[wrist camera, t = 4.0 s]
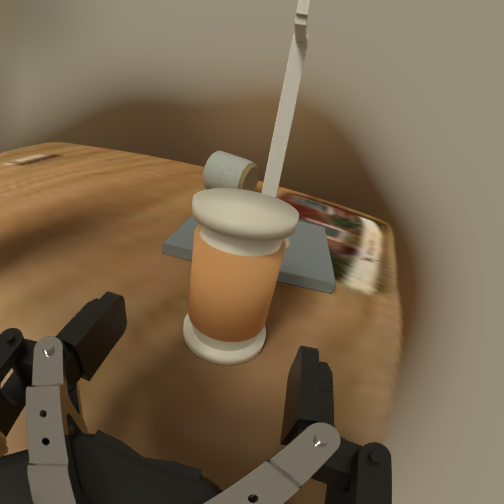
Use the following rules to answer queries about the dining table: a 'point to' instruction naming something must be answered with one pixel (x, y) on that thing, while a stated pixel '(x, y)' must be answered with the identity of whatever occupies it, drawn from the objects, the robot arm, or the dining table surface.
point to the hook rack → (306, 235)
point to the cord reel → (234, 271)
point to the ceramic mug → (230, 172)
